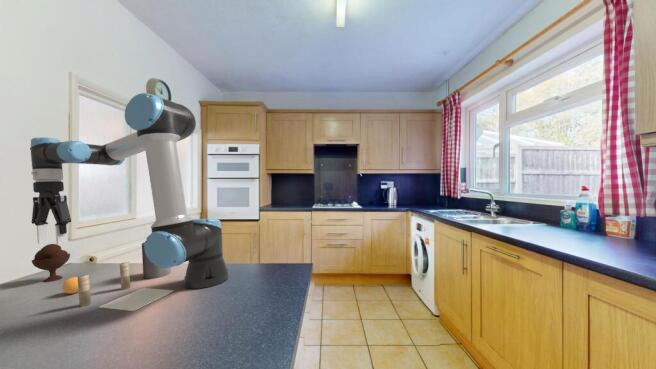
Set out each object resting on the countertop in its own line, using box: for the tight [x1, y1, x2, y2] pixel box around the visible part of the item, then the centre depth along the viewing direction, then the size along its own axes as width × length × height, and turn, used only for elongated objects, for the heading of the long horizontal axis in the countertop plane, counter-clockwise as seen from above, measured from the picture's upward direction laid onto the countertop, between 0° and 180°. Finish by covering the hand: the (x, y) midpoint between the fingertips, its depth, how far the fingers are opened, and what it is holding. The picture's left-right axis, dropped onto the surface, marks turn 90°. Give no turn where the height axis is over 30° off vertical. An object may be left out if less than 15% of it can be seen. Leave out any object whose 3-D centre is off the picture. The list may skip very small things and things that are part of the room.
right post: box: [119, 261, 131, 291], centre depth 94 cm, size 3×3×9 cm
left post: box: [77, 274, 92, 308], centre depth 82 cm, size 3×3×9 cm
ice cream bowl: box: [31, 243, 71, 283], centre depth 109 cm, size 11×11×15 cm
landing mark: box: [98, 287, 175, 312], centre depth 84 cm, size 14×14×1 cm
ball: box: [62, 276, 79, 295], centre depth 93 cm, size 6×6×6 cm
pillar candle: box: [141, 241, 172, 280], centre depth 108 cm, size 10×10×15 cm
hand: (52, 242), depth 95 cm, fingers open, 9 cm apart
